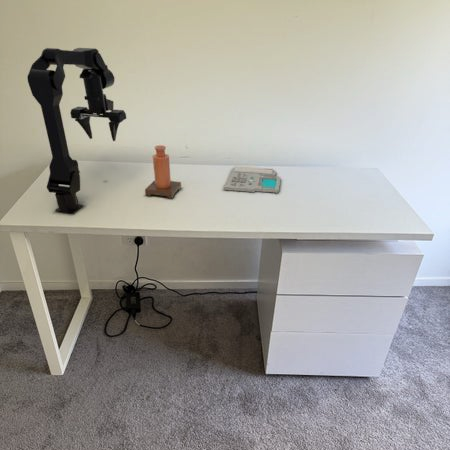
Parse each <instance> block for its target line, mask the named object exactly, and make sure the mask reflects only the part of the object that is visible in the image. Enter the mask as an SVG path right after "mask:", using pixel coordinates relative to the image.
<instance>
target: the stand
mask: <svg viewBox="0 0 450 450" xmlns="http://www.w3.org/2000/svg"><path fill="white" fill-rule="evenodd" d="M181 189H182V182H181V181H174V180H171V187H169V188H164V189H161V188H157V187H156V186H155V179H154V180H153V181H152V182H151V183H150V184H149V185H148V186H147V187H145V189H144V192H145V196H146V197H152V196H153V195H154V196H155V195H156V196H163V197H167V199H169V200H172V199H174V197H175V196H174V195H175V194H176V193H177V192H178V191H180V190H181Z"/></svg>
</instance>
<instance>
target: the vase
mask: <svg viewBox="0 0 450 450" xmlns="http://www.w3.org/2000/svg"><path fill="white" fill-rule="evenodd" d="M166 149H167V146H166V145H161V144H160V145H156V146H154V150H155V154H153V155H152V162H153V163H152V164H153V174H154V180H155V186H156V187H157V188H161V189H164V188H169V187H171V181H172V179H171V178H172V177H171V163H170V155H169V154H167V153H166Z"/></svg>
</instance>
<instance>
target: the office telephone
mask: <svg viewBox="0 0 450 450" xmlns="http://www.w3.org/2000/svg"><path fill="white" fill-rule="evenodd" d="M276 173H277V170H275V169H273V168H268V167H267V168H266V167H254V166H253V167H250V166H237V165H235V166H233V168H232V170H231V172H230V175H229V177H228V179H227V181H226V183H225V185H224V191H235V192H249V193H250V192H252V193H254V192H265V193H274V194H279V191H280V186H281V176H276Z"/></svg>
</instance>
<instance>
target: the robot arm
mask: <svg viewBox="0 0 450 450" xmlns="http://www.w3.org/2000/svg"><path fill="white" fill-rule="evenodd" d="M52 65H53V66H56V67H55V70H53V69H49V68H50V67H51V66H52ZM65 65H69V66H71V65H73V66H75V67H77V68H79V69H82V70H81V73H79V79H82V81H83V87H84V91H85V95H84V97H83V98H84V100H85V101H86V103H87V106H76V107H73V108H71V109H70V113H69V114H70V118H71V119H73V120H74V121H75V122H77V123H78V124H79V126H80V127H81V128H82V130H83V131H84V132H85V134H86V135H87V137H88V138H89V139H90V140H92V139H93V132H92V127H91V117H93V118H103V119H108V120H109V121H108V126H109V131H110V136H111V139H112V142H116V139H117V135H118V128H119V125H120V124H121V123H122V122H124V121H125V120H127V113H126V111H125V110H123V109H114V101H113V100H111V99H108V98H107V95H106V93H104V90H105V89H108V88H110V87H112V86H113V85H114V84H115V81H116V80H115V75H114V73H113V72H112V71H111V70H110V69H109V68H108V67H109V66H108V64H106V62H105V60H104V59H103V56H102V55H101V53H100V52H99V50H98V49H97V48H94V47H93V48H91V47H76V48H73V50H68V49H67V50H66V49H60V48H53V47H46V48H44V49H43V50H42V51H41V55H40V56H39V57H38V58H37V59H36V60H35V61H34V62H33V63H32V64H31V65H30V66H31V67H30V69H29V72H28V73H27V83H28V86H29V89H30V92H31V96H33V98H34V99H35V101H36V102H37V103H38V104H39V105H40V108H41V113H42V117H43V121H44V126H45V130H46V136H47V139H48V143H49V148H50V152H51V157H52V158H51V160H50V163H49V166H48V167H49V176H48V181H47V184H46V189H47V191H48V193H54V195H55V199H56V203H57V208H55V209H54V211H55V213H62V214H68V215H69V214H70V215H73V214H75V213H76V212H77V211H78V210H80V209H82V208H83V206H84V205H83V204H80V203H79V199H78V195H77V193H79V192H80V191H81V171H80V168H79V162H78V160H76V159H73V158H72V157H71V155H70V152H69V147H68V142H67V137H66V132H65V128H64V127H65V126H64V122H63V116H62V112H61V108H60V103H61V101H62V99H63V94H64V93H63V85H64V82H65V79H66V73H65V69H64V66H65Z"/></svg>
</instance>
